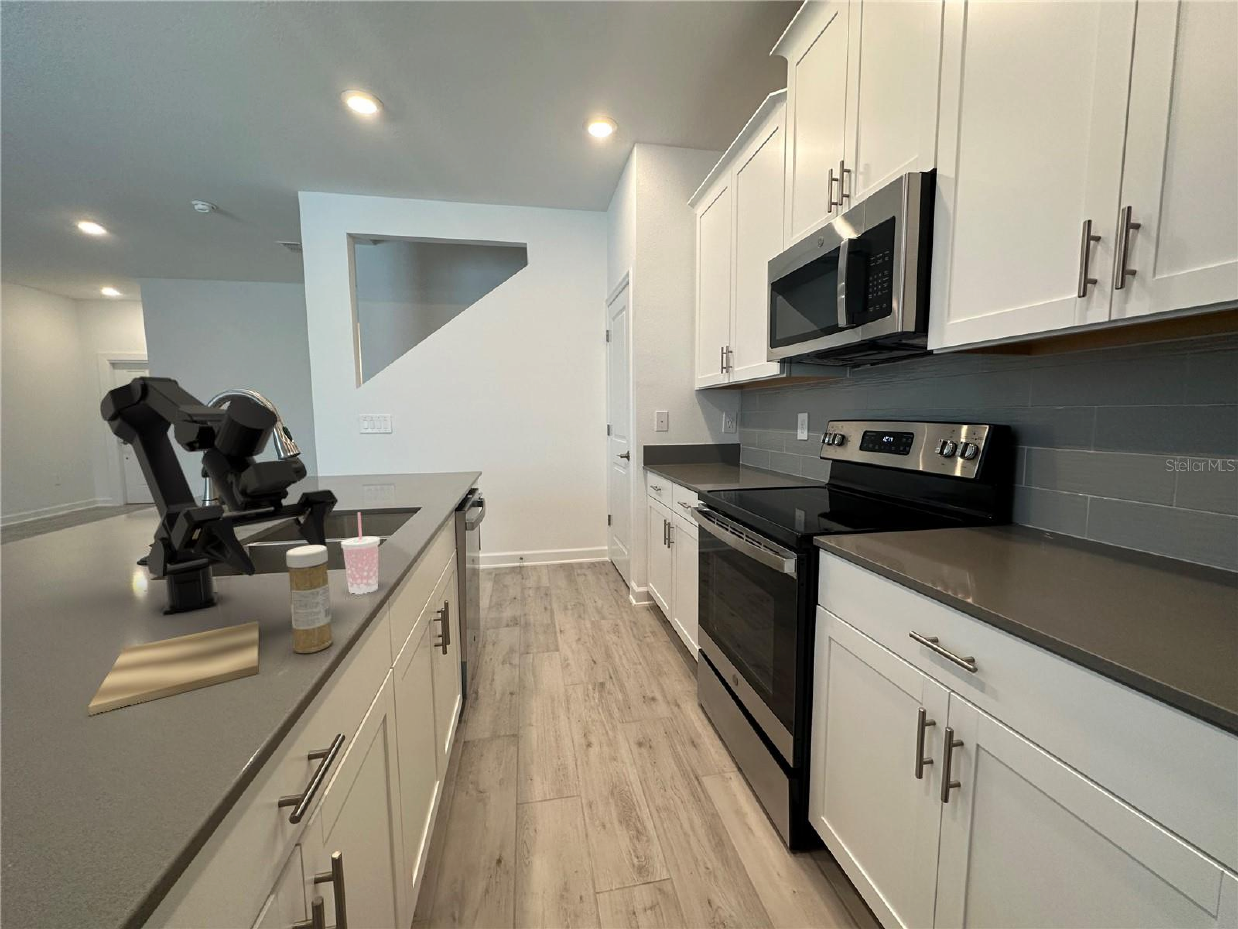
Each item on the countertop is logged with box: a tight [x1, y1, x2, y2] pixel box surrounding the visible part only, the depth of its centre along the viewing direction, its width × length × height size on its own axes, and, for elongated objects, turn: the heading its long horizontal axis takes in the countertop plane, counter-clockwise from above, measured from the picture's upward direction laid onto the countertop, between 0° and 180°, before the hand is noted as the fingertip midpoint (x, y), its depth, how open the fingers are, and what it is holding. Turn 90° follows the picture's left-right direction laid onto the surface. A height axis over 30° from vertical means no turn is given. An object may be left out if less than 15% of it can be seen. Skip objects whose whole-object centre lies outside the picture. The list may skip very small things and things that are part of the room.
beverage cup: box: [340, 511, 381, 595], centre depth 86 cm, size 6×6×14 cm
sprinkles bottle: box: [285, 544, 334, 654], centre depth 65 cm, size 5×5×14 cm
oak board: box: [88, 620, 260, 716], centre depth 61 cm, size 16×14×1 cm
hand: (291, 563), depth 66 cm, fingers open, 9 cm apart
